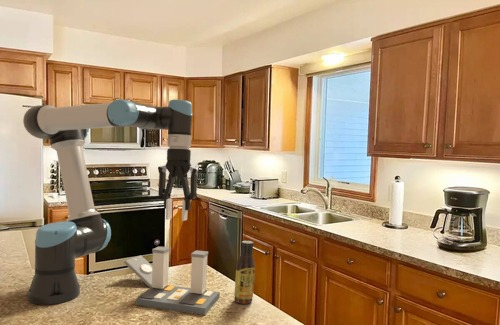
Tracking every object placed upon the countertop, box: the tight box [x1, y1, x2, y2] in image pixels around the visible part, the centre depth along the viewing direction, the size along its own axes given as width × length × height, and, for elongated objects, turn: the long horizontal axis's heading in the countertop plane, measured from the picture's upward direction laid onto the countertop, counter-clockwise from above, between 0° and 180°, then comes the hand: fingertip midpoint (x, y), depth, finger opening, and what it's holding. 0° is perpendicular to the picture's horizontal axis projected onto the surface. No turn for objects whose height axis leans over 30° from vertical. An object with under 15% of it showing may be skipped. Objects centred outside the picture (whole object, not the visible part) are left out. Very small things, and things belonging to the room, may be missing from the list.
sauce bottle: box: [233, 240, 256, 305], centre depth 123 cm, size 7×6×20 cm
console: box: [135, 284, 221, 316], centre depth 121 cm, size 23×14×2 cm, turn 77°
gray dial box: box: [123, 255, 153, 289], centre depth 139 cm, size 8×6×14 cm
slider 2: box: [190, 249, 209, 294], centre depth 124 cm, size 4×4×13 cm
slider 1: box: [151, 246, 171, 289], centre depth 127 cm, size 4×4×13 cm
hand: (176, 219), depth 121 cm, fingers open, 5 cm apart
